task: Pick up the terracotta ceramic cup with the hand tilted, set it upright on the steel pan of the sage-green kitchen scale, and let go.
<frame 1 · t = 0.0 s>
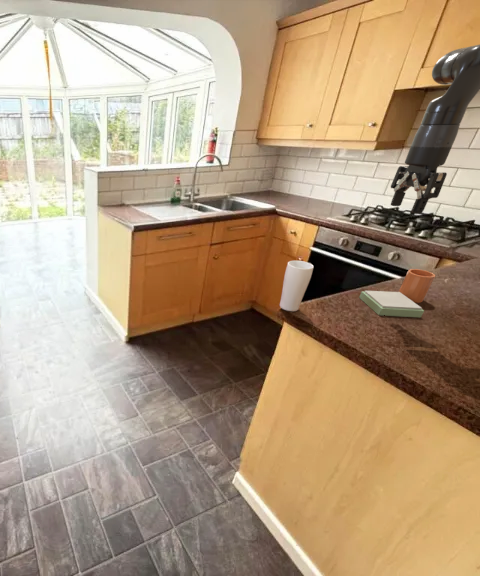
hand: (405, 209, 88), 30 cm above the worktop, tool pointing down, fingers open, 8 cm apart
drinking glass: (288, 308, 102), on the worktop
scale: (388, 307, 100), on the worktop
cup: (409, 298, 105), on the worktop
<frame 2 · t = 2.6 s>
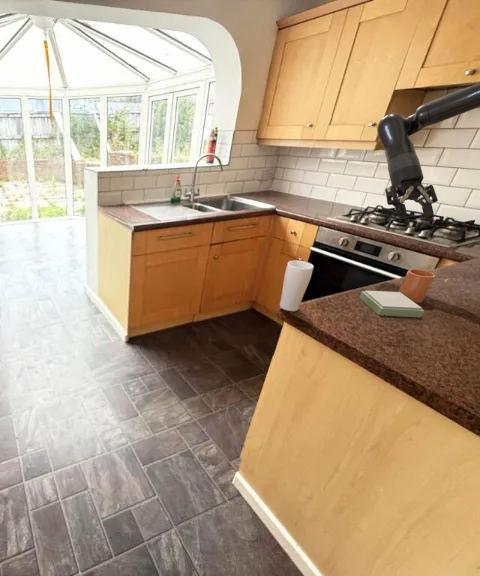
hand: (416, 216, 102), 24 cm above the worktop, tool tilted 40°, fingers open, 8 cm apart
nothing on the worktop moved.
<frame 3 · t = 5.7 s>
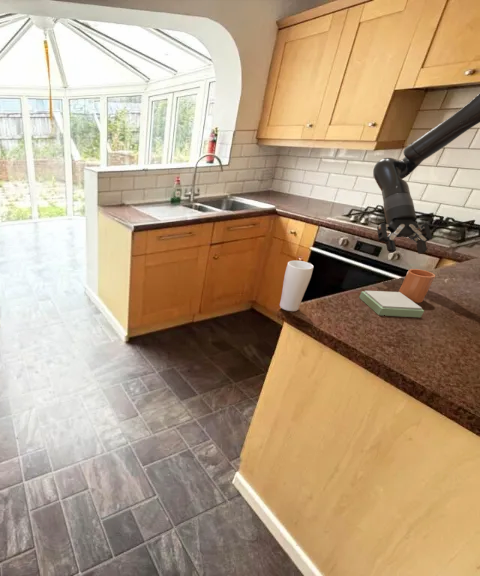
hand: (407, 252, 107), 12 cm above the worktop, tool tilted 45°, fingers open, 8 cm apart
nothing on the worktop moved.
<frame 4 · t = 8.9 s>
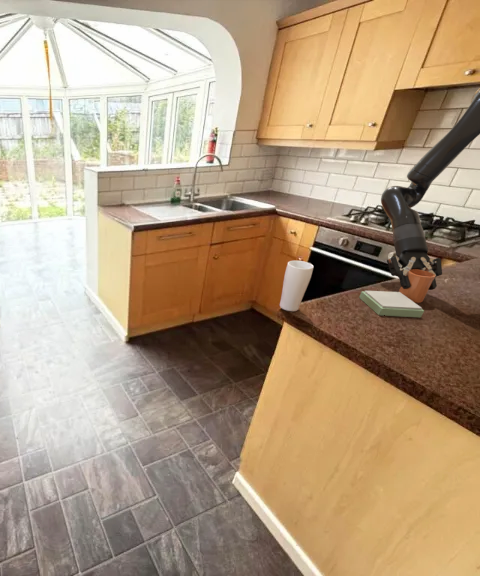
hand: (419, 288, 101), 4 cm above the worktop, tool tilted 45°, fingers closed on cup, 6 cm apart
cup: (409, 298, 105), on the worktop, touching gripper
everything else where it was.
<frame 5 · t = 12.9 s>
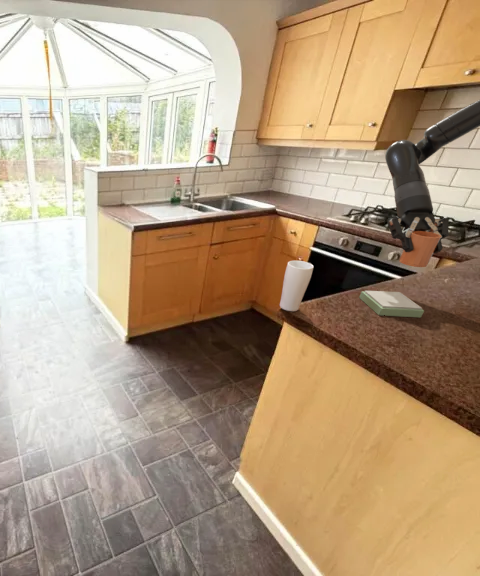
hand: (423, 251, 92), 18 cm above the worktop, tool tilted 45°, fingers closed on cup, 6 cm apart
cup: (412, 263, 95), point 14 cm above the worktop, touching gripper
everything else where it was.
when the fingers open (7 cm above the worktop, at t = 17.0 s): cup stays where it is, resting on scale.
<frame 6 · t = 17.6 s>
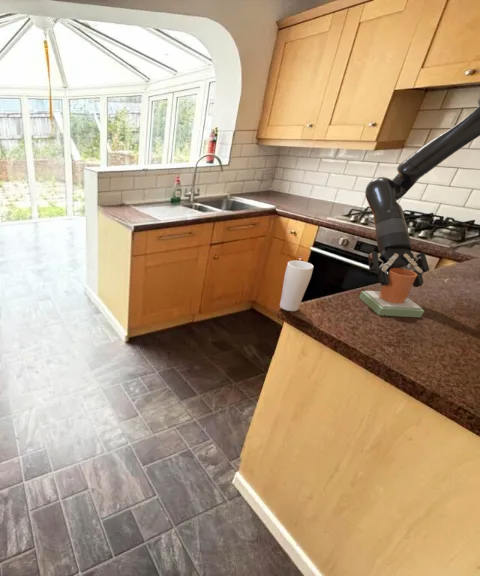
hand: (401, 285, 95), 8 cm above the worktop, tool tilted 45°, fingers open, 8 cm apart
cup: (391, 298, 99), point 3 cm above the worktop, touching scale
everything else where it was.
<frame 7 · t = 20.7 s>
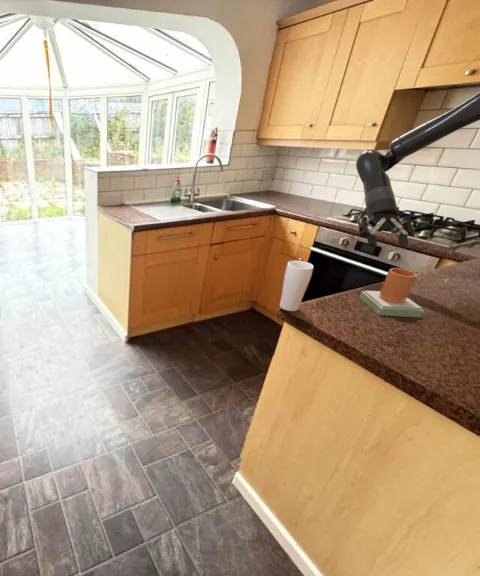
hand: (388, 246, 104), 15 cm above the worktop, tool tilted 45°, fingers open, 8 cm apart
nothing on the worktop moved.
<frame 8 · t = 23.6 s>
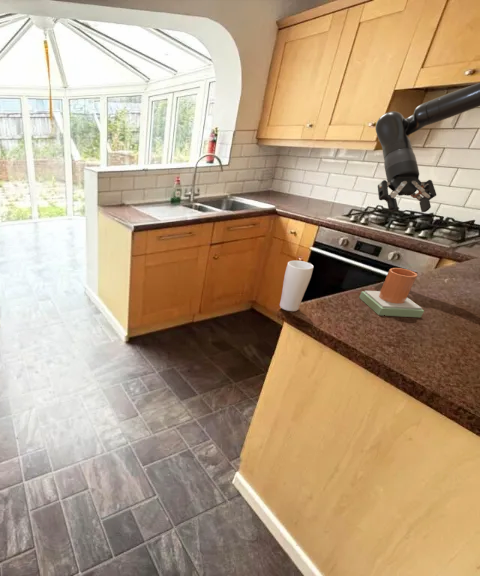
hand: (410, 210, 100), 27 cm above the worktop, tool tilted 45°, fingers open, 8 cm apart
nothing on the worktop moved.
at the end: cup inside the target area on the scale (0.1 cm from its centre), point 3.0 cm above the scale's base; cup tilted 0°; the gripper is holding nothing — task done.
